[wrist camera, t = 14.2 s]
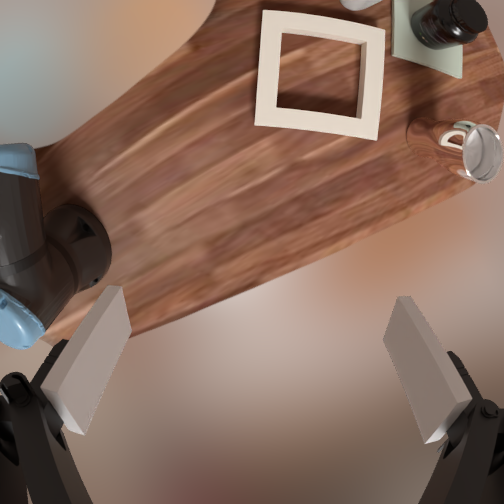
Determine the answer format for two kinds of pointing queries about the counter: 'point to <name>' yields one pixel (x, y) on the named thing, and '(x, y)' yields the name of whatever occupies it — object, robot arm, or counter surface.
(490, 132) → the beer glass
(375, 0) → the donut
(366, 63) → the holder
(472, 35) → the supplement bottle
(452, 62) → the mat
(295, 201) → the counter surface
